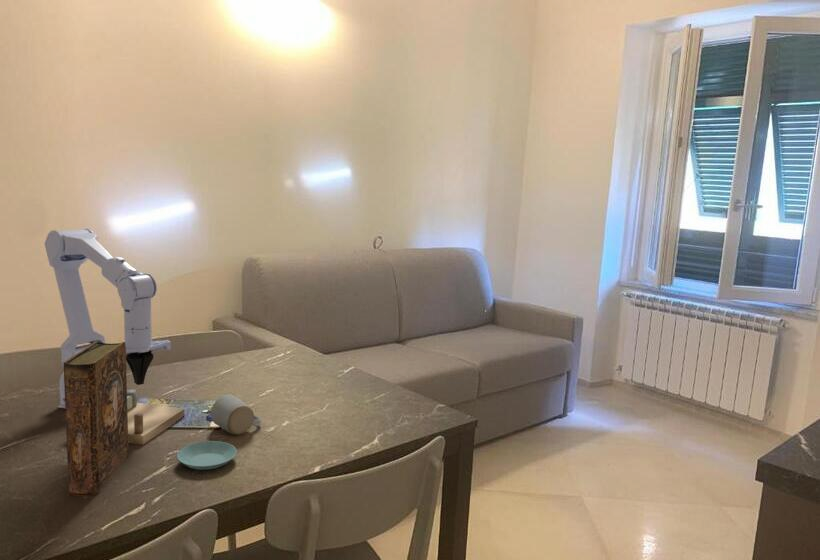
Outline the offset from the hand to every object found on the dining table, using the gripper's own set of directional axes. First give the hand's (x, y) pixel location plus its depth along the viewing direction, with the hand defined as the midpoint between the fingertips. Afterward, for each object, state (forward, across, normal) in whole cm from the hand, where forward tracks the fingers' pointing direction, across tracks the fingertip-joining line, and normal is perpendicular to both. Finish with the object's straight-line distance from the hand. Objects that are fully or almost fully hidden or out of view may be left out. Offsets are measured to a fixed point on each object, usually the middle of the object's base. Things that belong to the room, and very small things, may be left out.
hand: (139, 383), depth 147 cm
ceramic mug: (+10, +17, -16) cm, 25 cm away
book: (+10, -16, -20) cm, 28 cm away
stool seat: (+10, -2, 0) cm, 10 cm away
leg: (+8, -4, +3) cm, 9 cm away
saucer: (+10, +3, -28) cm, 30 cm away
